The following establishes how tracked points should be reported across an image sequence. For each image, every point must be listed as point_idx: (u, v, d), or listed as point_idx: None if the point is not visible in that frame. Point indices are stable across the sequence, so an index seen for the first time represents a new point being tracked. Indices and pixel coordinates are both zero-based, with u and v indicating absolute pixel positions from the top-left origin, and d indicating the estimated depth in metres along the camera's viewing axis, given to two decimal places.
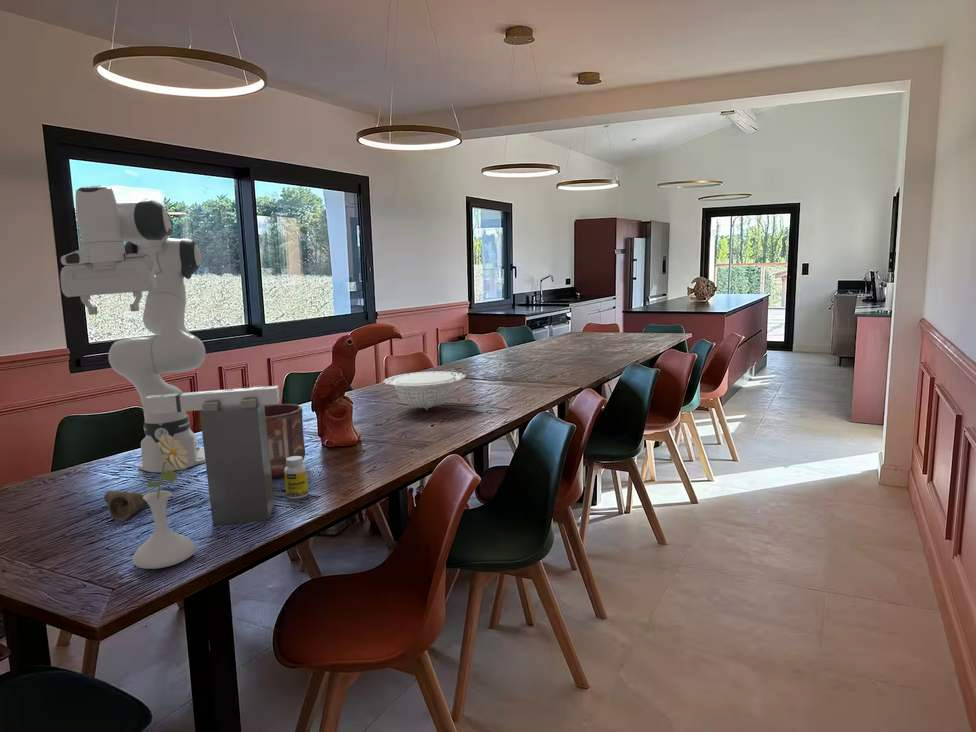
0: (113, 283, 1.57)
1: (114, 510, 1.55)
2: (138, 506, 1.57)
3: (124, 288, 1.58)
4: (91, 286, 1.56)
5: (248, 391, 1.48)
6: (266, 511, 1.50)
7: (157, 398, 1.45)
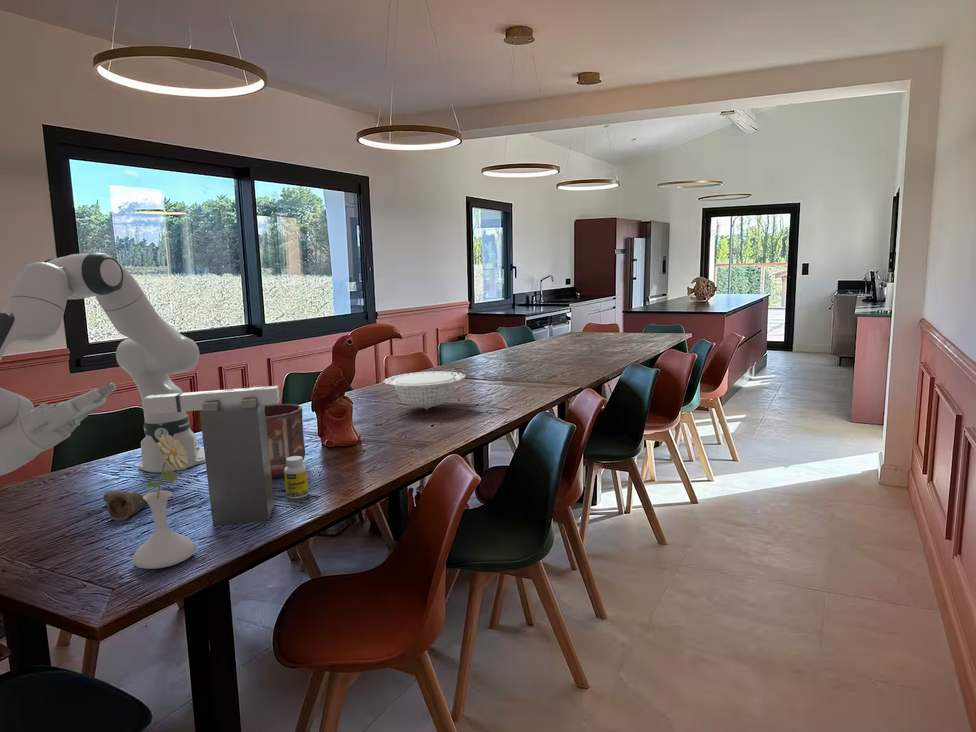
0: None
1: (113, 510, 1.55)
2: (137, 507, 1.57)
3: (81, 413, 1.41)
4: None
5: (248, 391, 1.48)
6: (266, 511, 1.50)
7: (157, 398, 1.45)
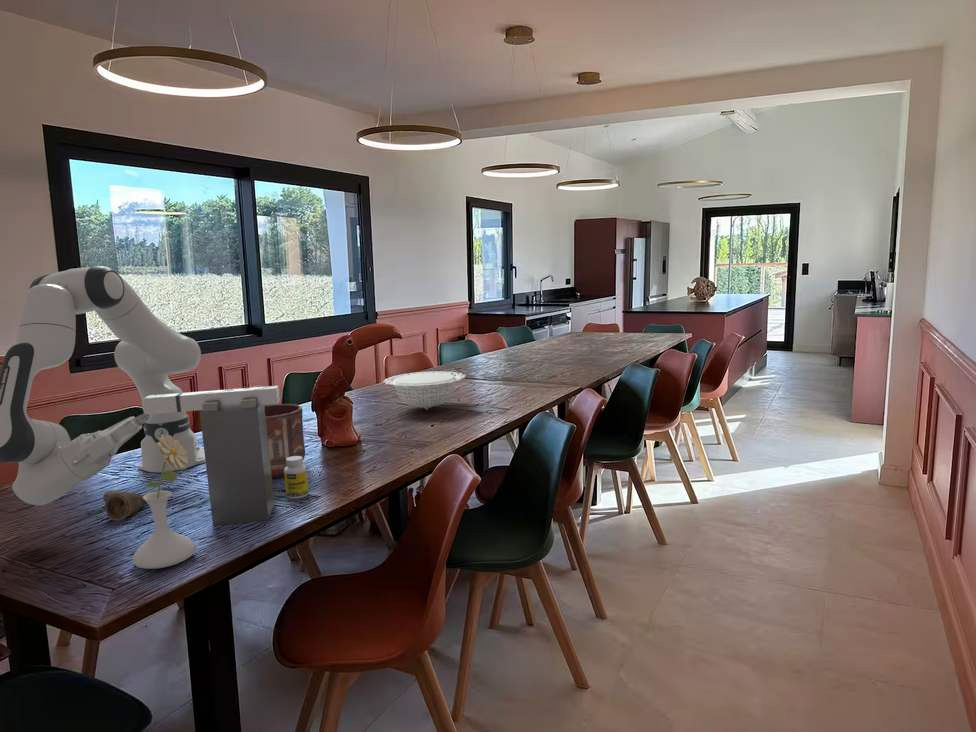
0: None
1: (111, 510, 1.55)
2: (135, 507, 1.57)
3: None
4: None
5: (248, 391, 1.48)
6: (266, 511, 1.50)
7: (157, 398, 1.45)
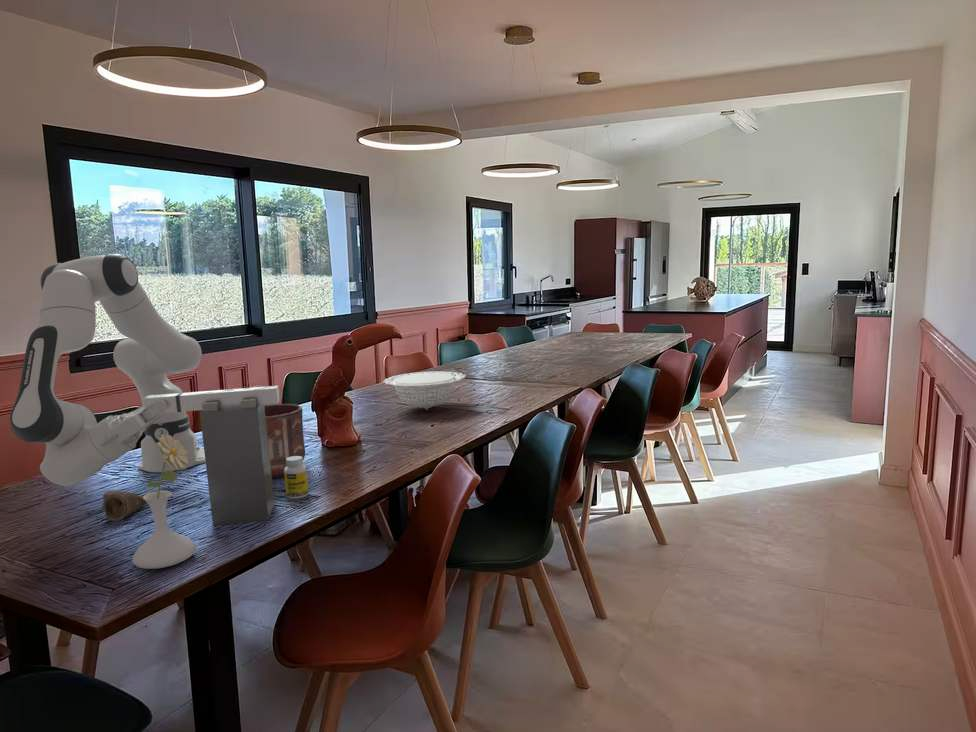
0: None
1: (109, 510, 1.55)
2: (133, 507, 1.57)
3: None
4: None
5: (248, 391, 1.48)
6: (266, 511, 1.50)
7: (157, 398, 1.45)
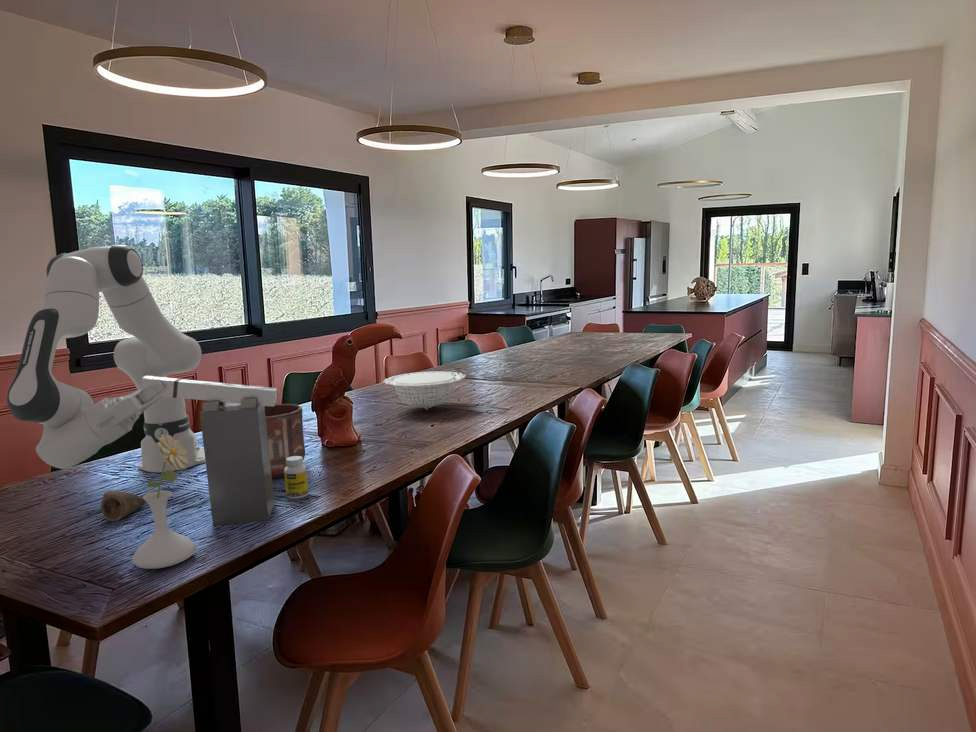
0: None
1: (107, 510, 1.55)
2: (131, 508, 1.57)
3: None
4: None
5: (247, 389, 1.48)
6: (266, 511, 1.50)
7: (155, 380, 1.44)
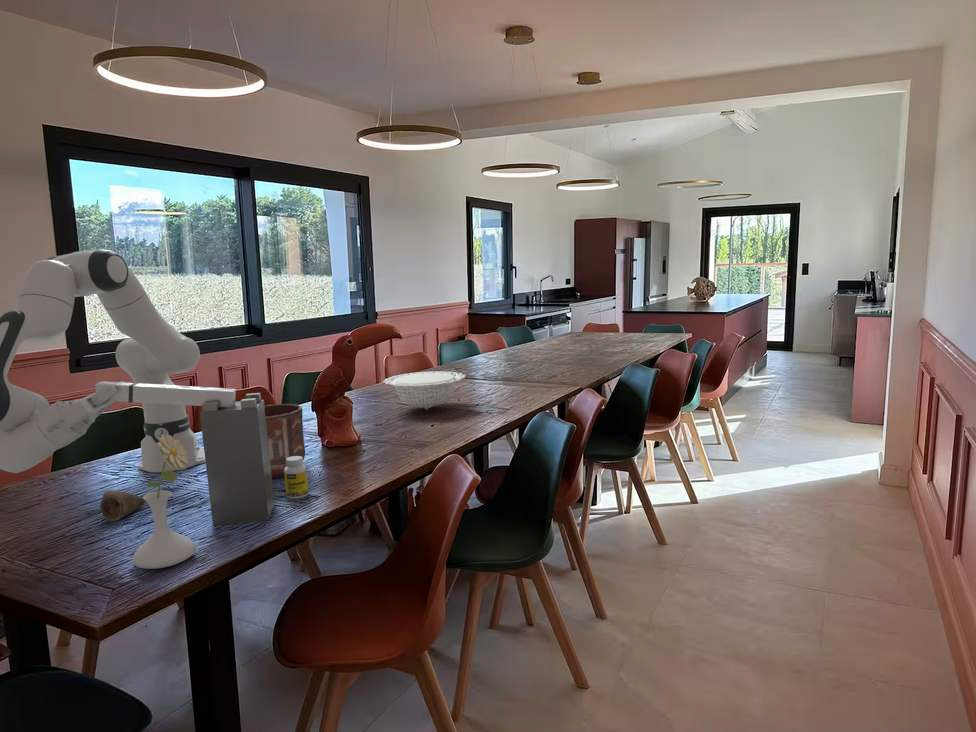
0: (95, 412, 1.43)
1: (106, 510, 1.55)
2: (130, 508, 1.57)
3: (96, 411, 1.41)
4: (105, 406, 1.48)
5: (204, 391, 1.46)
6: (266, 511, 1.50)
7: (110, 385, 1.43)
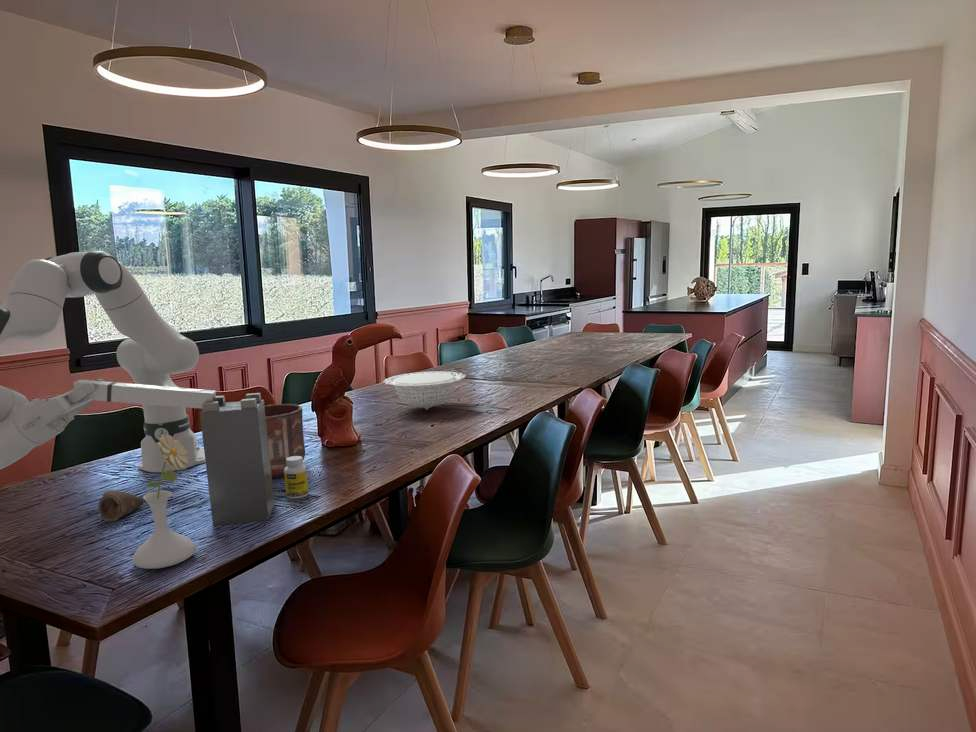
0: (72, 409, 1.42)
1: (105, 510, 1.55)
2: (128, 508, 1.57)
3: (73, 408, 1.40)
4: (83, 404, 1.47)
5: (183, 392, 1.46)
6: (266, 511, 1.50)
7: None
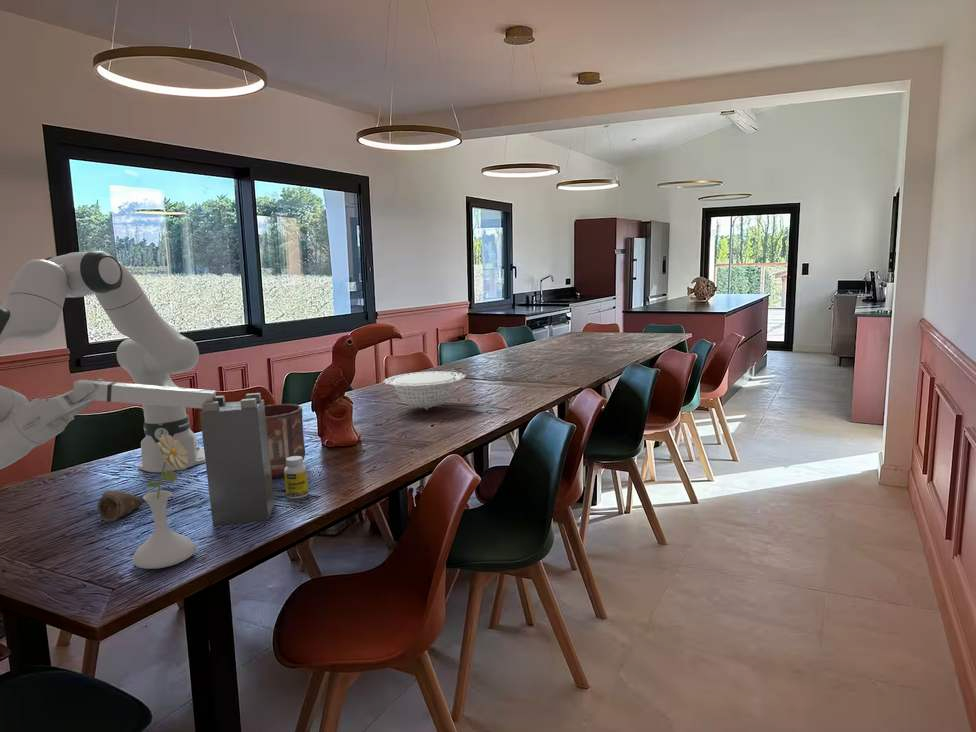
0: (72, 409, 1.42)
1: (104, 510, 1.55)
2: (127, 508, 1.56)
3: (73, 408, 1.40)
4: (83, 404, 1.47)
5: (183, 392, 1.46)
6: (266, 511, 1.50)
7: None
